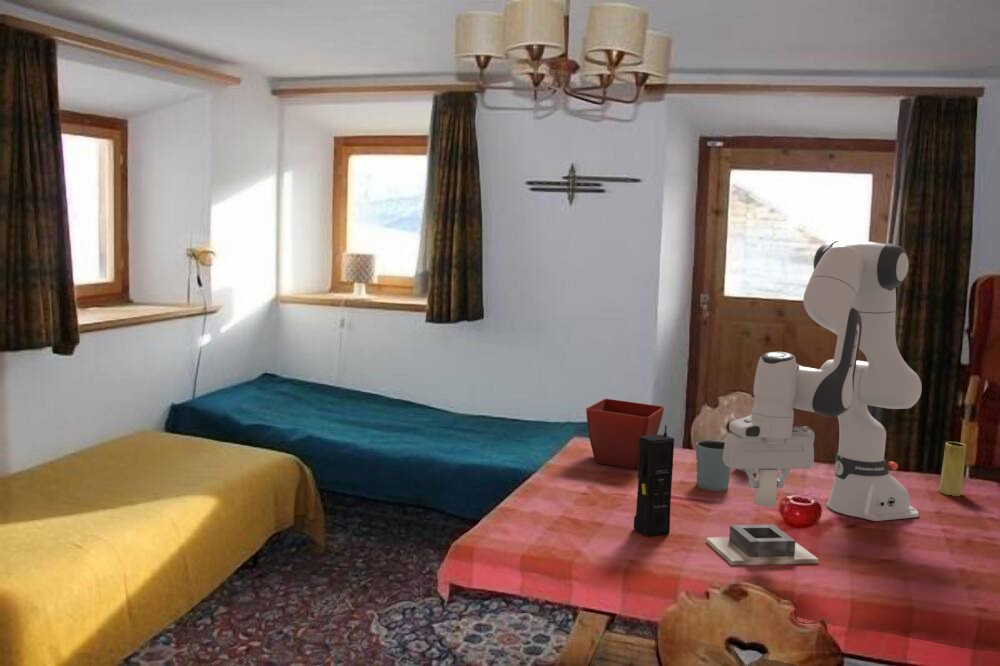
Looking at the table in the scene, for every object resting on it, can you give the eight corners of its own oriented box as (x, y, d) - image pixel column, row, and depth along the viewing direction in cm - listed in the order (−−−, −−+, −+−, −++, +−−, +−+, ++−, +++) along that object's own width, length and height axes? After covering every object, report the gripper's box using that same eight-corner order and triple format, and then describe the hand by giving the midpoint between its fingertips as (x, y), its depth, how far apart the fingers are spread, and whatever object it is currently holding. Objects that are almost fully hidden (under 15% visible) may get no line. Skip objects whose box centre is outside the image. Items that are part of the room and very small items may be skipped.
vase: (939, 494, 255) (944, 444, 254) (937, 488, 261) (943, 440, 259) (963, 497, 253) (969, 447, 251) (961, 492, 259) (967, 443, 257)
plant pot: (661, 459, 279) (665, 405, 277) (644, 474, 262) (648, 417, 260) (601, 450, 287) (604, 398, 285) (581, 464, 269) (584, 408, 267)
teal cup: (738, 489, 252) (741, 446, 250) (712, 493, 246) (715, 450, 244) (710, 479, 260) (713, 438, 258) (685, 483, 254) (688, 442, 253)
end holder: (787, 540, 212) (788, 521, 212) (817, 563, 198) (819, 543, 198) (706, 541, 209) (707, 522, 208) (731, 565, 195) (733, 545, 194)
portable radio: (644, 538, 209) (651, 431, 206) (628, 529, 214) (635, 425, 211) (671, 534, 213) (679, 429, 210) (655, 525, 218) (662, 423, 215)
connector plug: (769, 500, 205) (772, 465, 204) (778, 506, 200) (782, 471, 199) (750, 500, 204) (753, 465, 203) (759, 506, 200) (762, 471, 198)
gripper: (808, 423, 205) (802, 483, 207) (722, 422, 201) (717, 483, 203) (822, 430, 199) (816, 491, 200) (734, 429, 195) (729, 492, 197)
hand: (766, 487), depth 202 cm, fingers closed on connector plug, 4 cm apart
